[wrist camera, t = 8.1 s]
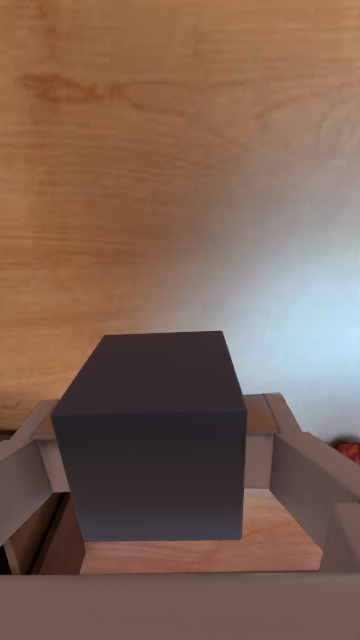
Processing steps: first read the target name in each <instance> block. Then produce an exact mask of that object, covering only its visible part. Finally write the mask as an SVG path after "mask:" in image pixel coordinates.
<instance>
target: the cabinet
mask: <svg viewBox="0 0 360 640" xmlns="http://www.w3.org/2000/svg"><path fill="white" fill-rule="evenodd" d="M61 498H62V502H61V505H60V507H59V509H58V512H57V514H56V516H55V519H54V521H53V523H52V525H51V528H50V530H49V532H48V535H47V537H46V539H45V542H44V544H43V546H42V549H41V551H40V553H39V556H38V558H37V560H36V563H35V565H34V567H33V570H32V572H31V574H30V575H79V573H80V569H81V566H82V563H83V559H84V556H85V549H84V542H83V537H82V533H81V529H80V526H79V522H78V518H77V514H76V511H75V507H74V503H73V500H72V496H71V492H61Z"/></svg>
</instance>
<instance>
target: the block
mask: <svg viewBox="0 0 360 640" xmlns="http://www.w3.org/2000/svg"><path fill="white" fill-rule="evenodd" d="M50 418H51V422H52V426H53V429H54V433H55V437H56V440H57V444H58V448H59V452H60V455H61V459H62V463H63V466H64V470H65V474H66V477H67V481H68V485H69V489H70V492H71V496H72V500H73V503H74V507H75V511H76V514H77V518H78V522H79V526H80V529H81V533H82V537H83V540H84V541H85V542H104V541H200V540H241V538H242V520H243V498H244V475H245V453H246V431H247V407H246V404H245V400H244V397H243V394H242V391H241V388H240V385H239V382H238V378H237V375H236V372H235V369H234V366H233V363H232V360H231V357H230V353H229V350H228V347H227V344H226V341H225V338H224V335H223V332H222V331H201V332H175V333H149V334H123V335H105V336H104V337H103V338H102V339H101V341H100V342H99V344H98V345H97V347H96V348H95V350H94V351H93V352H92V354H91V355H90V357H89V358H88V360H87V361H86V363H85V364H84V366H83V367H82V368H81V370H80V371H79V373H78V374H77V376H76V377H75V379H74V380H73V381H72V383H71V384H70V386H69V387H68V389H67V390H66V392H65V393H64V395H63V396H62V397H61V399H60V400H59V402H58V403H57V405H56V406H55V408H54V409H53V411H52V412H51V414H50Z"/></svg>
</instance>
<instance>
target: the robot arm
mask: <svg viewBox="0 0 360 640" xmlns="http://www.w3.org/2000/svg"><path fill="white" fill-rule="evenodd" d="M243 397H244V400H245V404H246V407H247V431H246V453H245V475H244V488H252V489H270V491H271V492H272V494H273V495H274V496H275V497H276V498H277V499H278V500H279V502H280V503H281V504H282V505H283V506H284V507H285V508H286V510H287V511H288V512H289V513H290V514H291V515H292V516H293V518H294V519H295V520H296V521H297V522H298V523H299V524H300V526H301V527H302V528H303V529H304V530H305V531H306V532H307V534H308V535H309V536H310V537H311V538H312V539H313V540H314V542H315V543H316V544H317V545H318V546H319V547H320V548H321V550H322V551H323V554H322V558H321V563H320V568H319V572H318V573H241V574H240V573H233V574H231V573H230V574H228V573H227V574H100V575H0V640H360V465H358V464H357V463H355V462H354V461H352V460H351V459H349V458H348V457H346V456H344V455H343V454H341V453H340V452H338V451H337V450H335V449H334V448H332V447H330V446H329V445H327V444H326V443H324V442H323V441H321V440H320V439H318V438H316V437H315V436H313V435H312V434H310V433H309V432H302V430H301V428H300V426H299V424H298V423H297V421H296V419H295V417H294V415H293V414H292V412H291V410H290V408H289V406H288V405H287V403H286V401H285V399H284V397H283V396H282V394H281V393H279V392H277V393H262V394H248V395H243ZM58 402H59V399H55V400H43V401H40V402H39V404H38V405H37V406H36V407H35V409H34V410H33V411H32V412H31V414H30V415H29V416H28V417H27V419H26V420H25V421H24V422H23V424H22V425H21V426H20V427H19V429H18V430H17V431H16V432H15V434H14V435H13V436H12V438H11V439H10V440H3V441H2V442H0V547H1V546H2V545H3V544H4V543H5V542H6V541H7V540H8V539H9V537H10V536H11V535H12V534H13V533H14V532H15V531H16V530H17V529H18V528H19V527H20V526H21V525H22V524H23V523H24V522H25V521H26V520H27V519H28V518H29V517H30V516H31V515H32V514H33V513H34V512H35V511H36V510H37V509H38V508H39V507H40V506H41V505H42V504H43V503H44V502H45V501H46V500H47V499H48V498H49V497H50V496H51V495H52V493H56V492H70V489H69V485H68V481H67V477H66V474H65V470H64V466H63V463H62V459H61V455H60V452H59V448H58V444H57V440H56V437H55V433H54V429H53V426H52V422H51V418H50V414H51V412H52V411H53V409H54V408H55V406H56V405H57V403H58Z"/></svg>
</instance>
